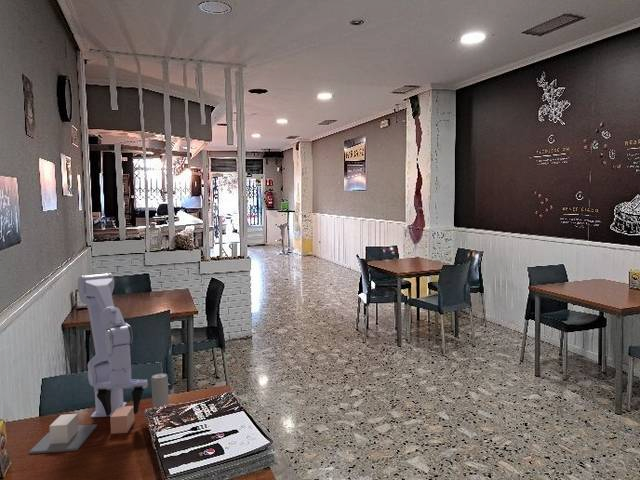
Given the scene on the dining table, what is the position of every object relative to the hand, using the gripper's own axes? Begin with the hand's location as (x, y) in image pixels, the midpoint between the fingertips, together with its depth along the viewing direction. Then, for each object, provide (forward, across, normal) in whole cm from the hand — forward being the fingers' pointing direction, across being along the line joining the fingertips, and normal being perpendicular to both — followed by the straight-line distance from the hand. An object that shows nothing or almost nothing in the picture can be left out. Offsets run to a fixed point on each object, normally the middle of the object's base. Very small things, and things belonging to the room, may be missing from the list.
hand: (122, 413), depth 135 cm
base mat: (+4, -14, -5) cm, 16 cm away
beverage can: (+4, +9, +8) cm, 13 cm away
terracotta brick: (+4, 0, 0) cm, 4 cm away
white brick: (+4, -14, -5) cm, 15 cm away
